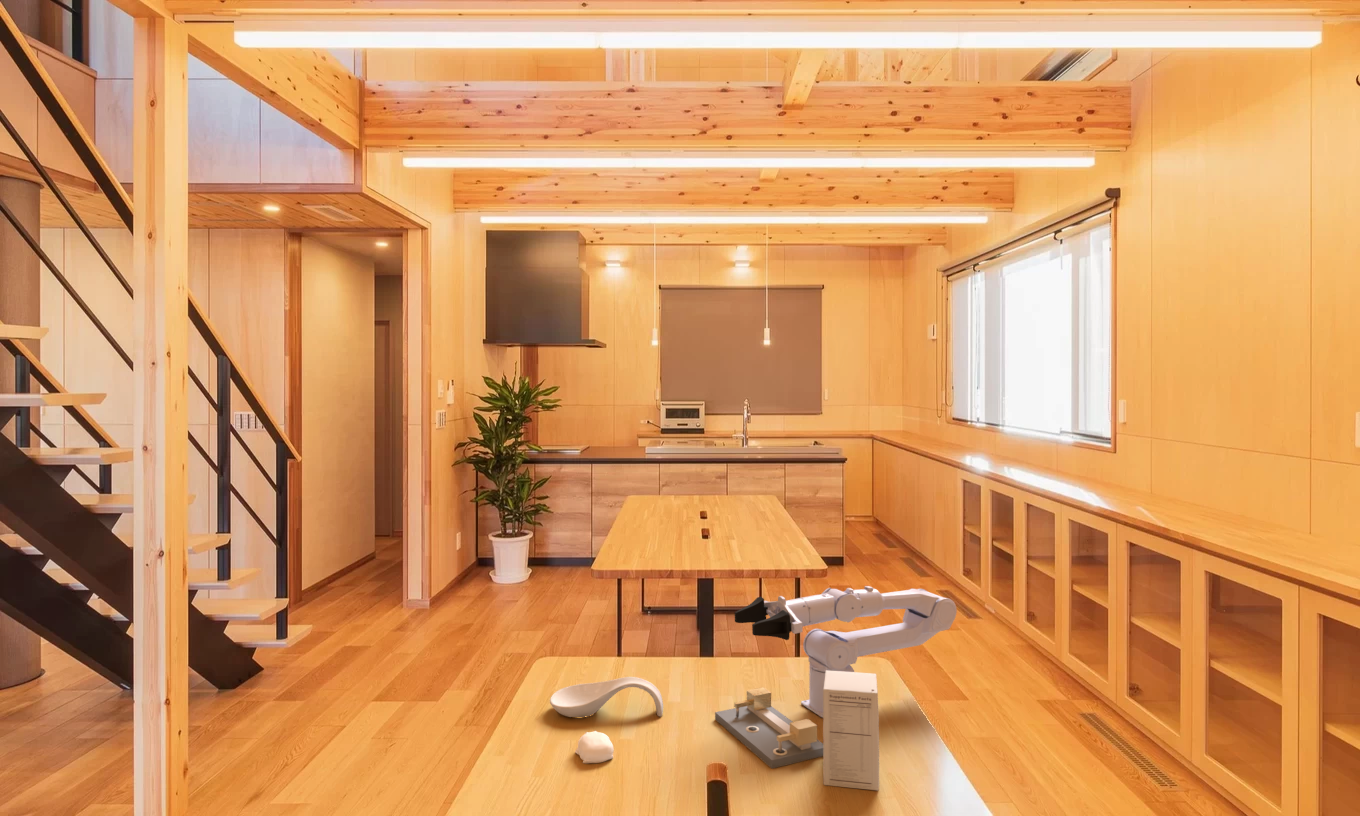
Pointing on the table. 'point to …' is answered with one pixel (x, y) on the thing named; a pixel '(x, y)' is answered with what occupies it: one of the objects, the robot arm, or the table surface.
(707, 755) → the table surface
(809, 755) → the plate
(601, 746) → the white rounded lump
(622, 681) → the spoon rest
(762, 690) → the sliding trammel head
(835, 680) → the supplement box
